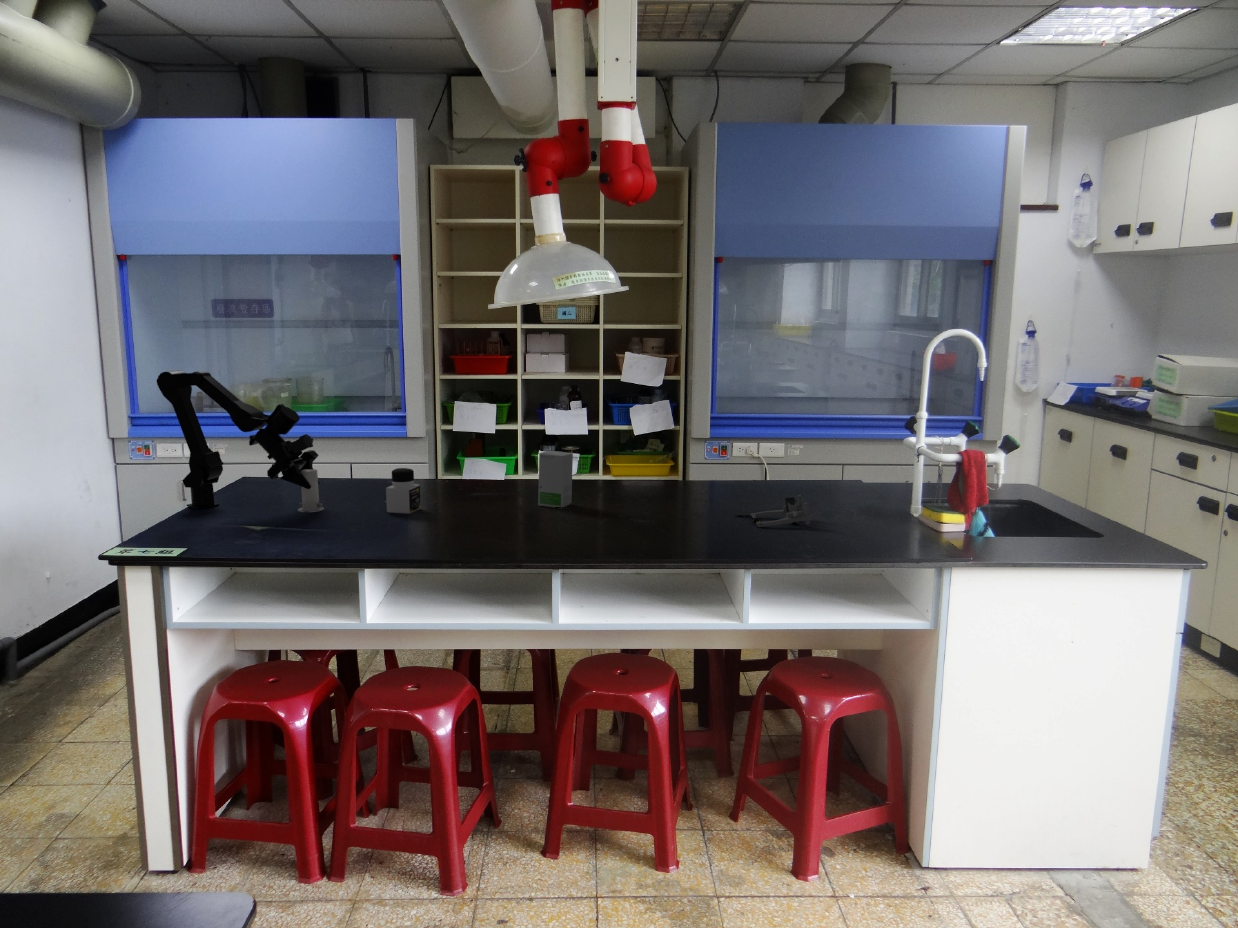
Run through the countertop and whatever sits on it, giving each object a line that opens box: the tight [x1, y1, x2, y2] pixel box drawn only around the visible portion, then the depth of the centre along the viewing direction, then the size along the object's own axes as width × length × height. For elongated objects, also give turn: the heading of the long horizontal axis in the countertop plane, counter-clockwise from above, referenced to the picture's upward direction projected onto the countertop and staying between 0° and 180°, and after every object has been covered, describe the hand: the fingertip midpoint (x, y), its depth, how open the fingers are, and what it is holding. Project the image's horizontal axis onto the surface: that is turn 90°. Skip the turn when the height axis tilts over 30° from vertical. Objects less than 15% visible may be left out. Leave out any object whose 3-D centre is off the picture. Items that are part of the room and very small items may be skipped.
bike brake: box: [735, 494, 814, 528], centre depth 236 cm, size 14×7×20 cm
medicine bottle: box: [385, 467, 421, 515], centre depth 246 cm, size 7×7×12 cm
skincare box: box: [537, 450, 574, 508], centre depth 254 cm, size 8×7×16 cm
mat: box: [233, 523, 276, 531], centre depth 231 cm, size 12×12×1 cm
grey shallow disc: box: [297, 506, 325, 513], centre depth 245 cm, size 7×7×1 cm
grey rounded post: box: [298, 468, 323, 511], centre depth 244 cm, size 6×4×11 cm
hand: (314, 486), depth 243 cm, fingers closed on grey rounded post, 4 cm apart
